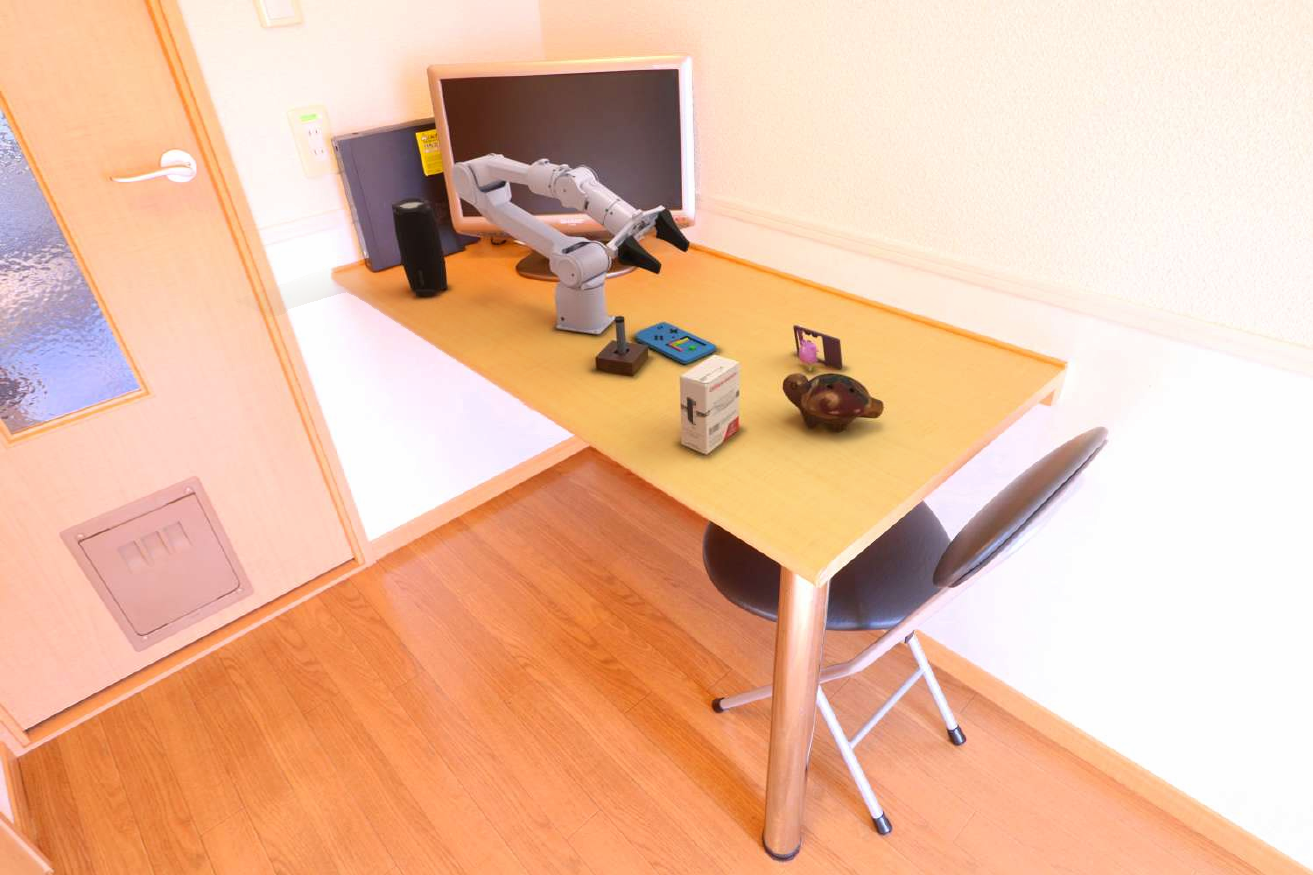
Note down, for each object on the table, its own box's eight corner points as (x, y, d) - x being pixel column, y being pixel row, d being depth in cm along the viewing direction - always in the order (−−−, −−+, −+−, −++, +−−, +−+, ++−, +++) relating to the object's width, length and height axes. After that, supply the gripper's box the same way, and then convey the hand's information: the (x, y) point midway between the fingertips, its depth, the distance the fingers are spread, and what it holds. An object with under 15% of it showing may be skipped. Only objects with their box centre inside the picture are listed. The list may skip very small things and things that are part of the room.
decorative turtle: (776, 404, 115) (783, 359, 110) (871, 412, 114) (882, 367, 109) (779, 435, 106) (786, 387, 102) (882, 444, 105) (894, 396, 101)
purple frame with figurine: (842, 336, 119) (796, 322, 124) (825, 356, 117) (779, 341, 122) (845, 365, 124) (800, 350, 129) (829, 384, 122) (784, 368, 127)
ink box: (713, 419, 112) (714, 351, 105) (739, 430, 109) (742, 361, 102) (679, 444, 106) (678, 374, 100) (706, 456, 104) (706, 385, 97)
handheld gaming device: (663, 319, 140) (718, 344, 130) (663, 325, 140) (718, 350, 131) (630, 333, 135) (684, 359, 126) (631, 338, 136) (685, 365, 126)
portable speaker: (423, 281, 164) (404, 195, 153) (458, 286, 161) (441, 197, 150) (400, 295, 157) (379, 206, 146) (437, 300, 154) (417, 209, 144)
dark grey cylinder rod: (616, 365, 127) (613, 319, 122) (620, 361, 129) (617, 315, 124) (625, 367, 127) (622, 320, 122) (628, 362, 128) (625, 316, 123)
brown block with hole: (596, 370, 126) (595, 357, 125) (612, 352, 132) (612, 339, 130) (633, 376, 124) (632, 363, 122) (648, 358, 129) (648, 345, 128)
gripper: (587, 216, 118) (649, 263, 115) (644, 177, 125) (704, 220, 122) (585, 247, 124) (643, 292, 121) (639, 208, 131) (696, 250, 128)
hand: (673, 258), depth 122 cm, fingers open, 7 cm apart
